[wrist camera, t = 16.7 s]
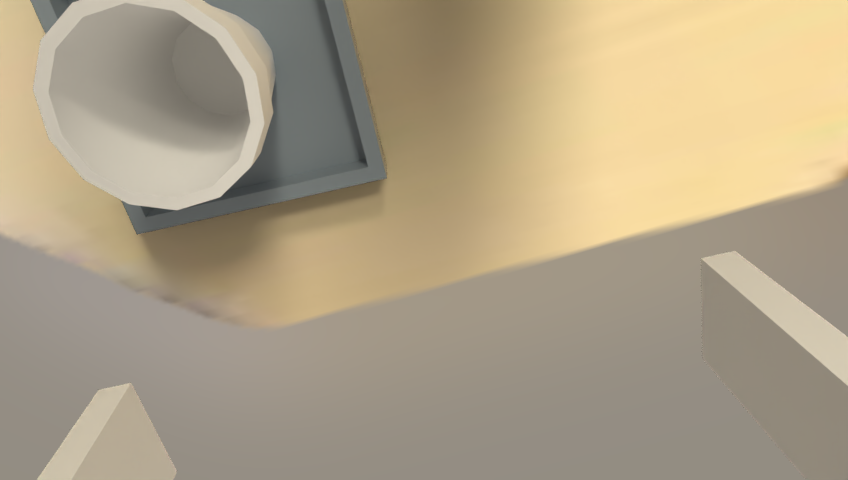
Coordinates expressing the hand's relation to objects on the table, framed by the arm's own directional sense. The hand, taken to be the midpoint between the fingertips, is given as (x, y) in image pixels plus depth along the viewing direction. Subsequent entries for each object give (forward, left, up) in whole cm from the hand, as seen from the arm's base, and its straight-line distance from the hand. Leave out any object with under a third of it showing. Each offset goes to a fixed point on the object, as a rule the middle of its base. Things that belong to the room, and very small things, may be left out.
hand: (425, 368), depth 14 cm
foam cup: (-5, -10, -28) cm, 30 cm away
